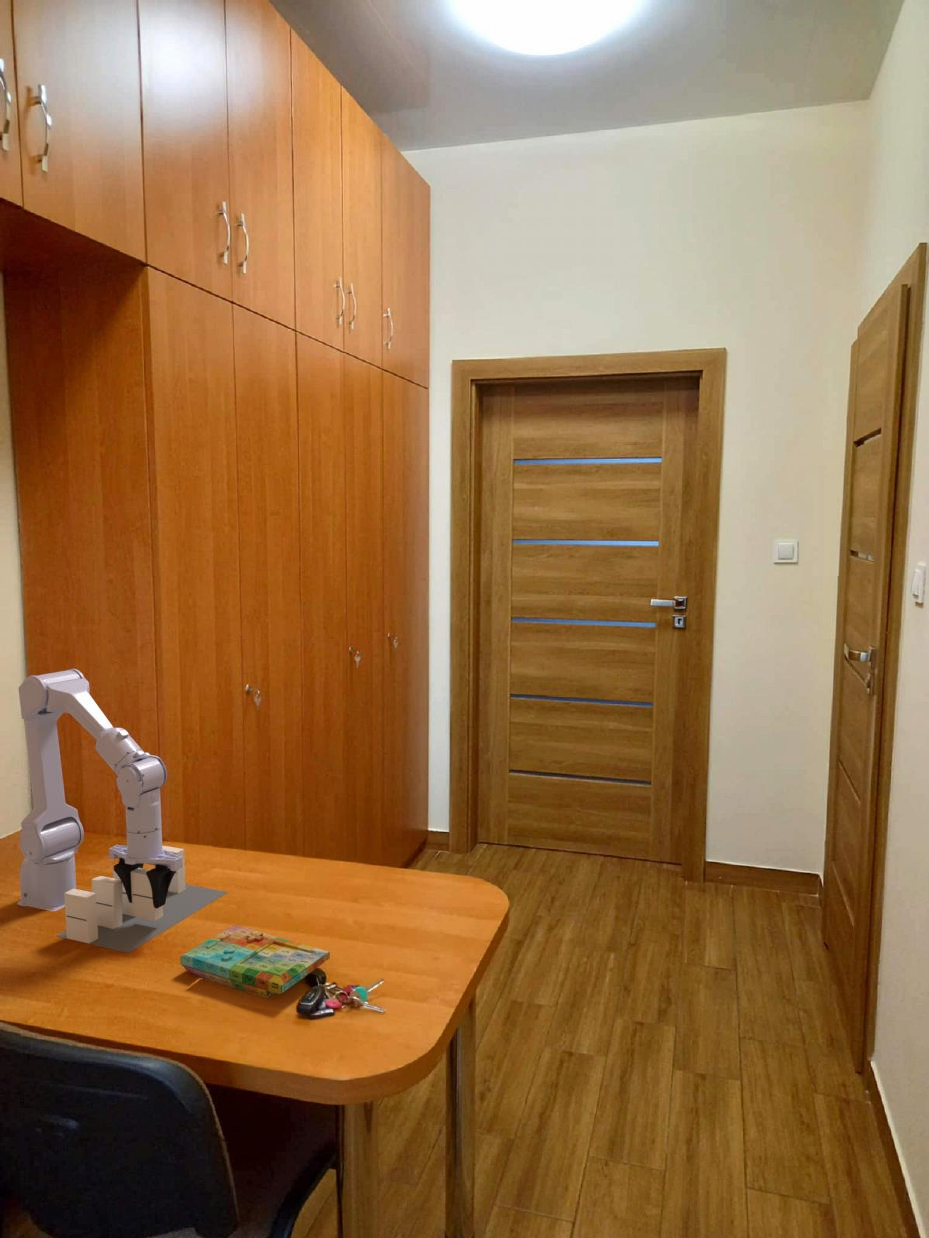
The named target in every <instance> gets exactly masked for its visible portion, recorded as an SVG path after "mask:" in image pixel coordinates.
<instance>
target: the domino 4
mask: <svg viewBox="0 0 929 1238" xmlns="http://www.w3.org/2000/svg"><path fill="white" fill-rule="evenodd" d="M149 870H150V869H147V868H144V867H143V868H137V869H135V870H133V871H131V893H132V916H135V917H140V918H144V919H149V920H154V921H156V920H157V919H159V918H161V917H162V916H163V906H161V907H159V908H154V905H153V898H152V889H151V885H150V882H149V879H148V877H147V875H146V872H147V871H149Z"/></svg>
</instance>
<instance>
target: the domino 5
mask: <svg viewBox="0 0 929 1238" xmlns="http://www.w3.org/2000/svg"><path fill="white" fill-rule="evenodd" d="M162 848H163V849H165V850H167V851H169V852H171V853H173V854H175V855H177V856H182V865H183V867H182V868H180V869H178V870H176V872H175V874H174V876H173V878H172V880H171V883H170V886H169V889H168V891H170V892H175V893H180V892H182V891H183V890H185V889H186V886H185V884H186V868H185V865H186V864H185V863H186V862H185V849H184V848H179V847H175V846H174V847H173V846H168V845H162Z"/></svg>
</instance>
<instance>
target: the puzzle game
mask: <svg viewBox="0 0 929 1238" xmlns="http://www.w3.org/2000/svg"><path fill="white" fill-rule="evenodd" d="M330 955H331V953H330V951H328V950H325V949H321V948H317V947H313V946H311V945H306V944H303V943H300V942H297V941H292V940H289V939H285V938H282V937H278V936H275V935H271V934H268V933H264V932H261V931H256V930H253V929H250V928H246V927H243V926H240V925H237V924H236V925H231V926H230V927H228V928H227V929H225V930H223V931H222V932H220V933H218V934H216V935H215V936H213V937H211V938H210V939H207V940H206V941H205V942H203V943H200V944H199V945H197V946H195V947H194V948H192V949H191V950H189V951H186V952H184V953H183V954H181V955H180V965H181V966H182V967H183V968H184V969H185V970H186V971H187V972H189V973H190V974H192V975H197V976H199V978H201V979H203V980H205V981H206V980H207V981H210V982H214V983H215V984H219V985H222V986H225V987H229V988H232V989H236V990H239V991H242V992H245V993H248V994H252V995H255V996H258V997H261V998H264V999H268V998H270V997H271V996H272V995H273V994H276V995H280V994H283V993H285V992H286V991H287V990H288V989H290V988H291V987H293V986H294V985H295V984H297V983H298V982H299V981H300V980H302V979H304V978H305V977H307V976H308V975H309V974H310V973H311V972H312V973H313V971H314V970H316V969H317V968H318V967H320V966H321V965H323V964H324V963H326V962H327V961H328V960H330V959H331V956H330Z"/></svg>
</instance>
